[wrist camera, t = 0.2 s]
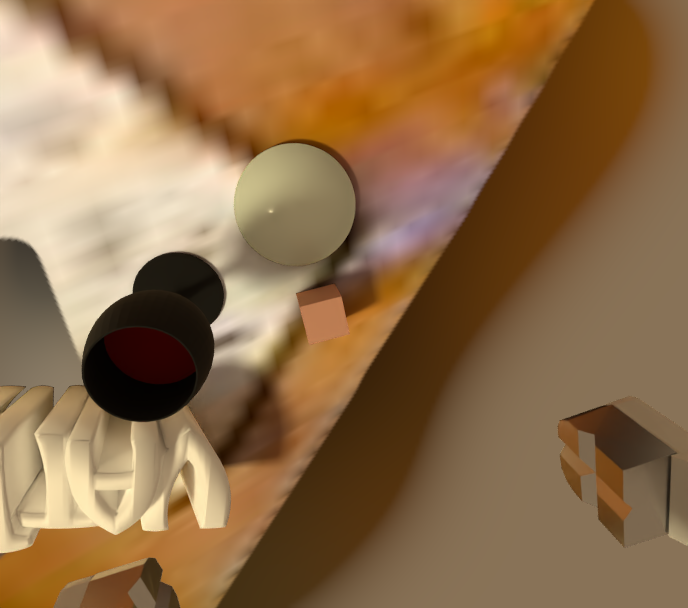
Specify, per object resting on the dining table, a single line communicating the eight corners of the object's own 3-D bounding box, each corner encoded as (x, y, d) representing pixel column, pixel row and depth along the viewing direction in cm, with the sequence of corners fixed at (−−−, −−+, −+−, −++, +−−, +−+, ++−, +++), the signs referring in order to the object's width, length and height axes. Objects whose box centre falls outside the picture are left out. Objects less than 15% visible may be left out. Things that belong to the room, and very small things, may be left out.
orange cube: (296, 293, 58) (299, 307, 53) (334, 283, 58) (341, 296, 53) (305, 328, 59) (309, 344, 55) (342, 318, 60) (349, 334, 55)
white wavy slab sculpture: (241, 389, 61) (238, 438, 51) (230, 490, 66) (226, 551, 56) (-68, 372, 53) (-141, 426, 43) (-54, 488, 58) (-116, 559, 48)
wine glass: (240, 310, 57) (233, 395, 38) (165, 348, 57) (122, 451, 38) (194, 236, 53) (162, 291, 34) (114, 277, 53) (38, 354, 34)
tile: (218, 158, 50) (218, 158, 50) (341, 131, 52) (342, 130, 51) (253, 276, 56) (253, 278, 55) (363, 248, 57) (365, 250, 56)
